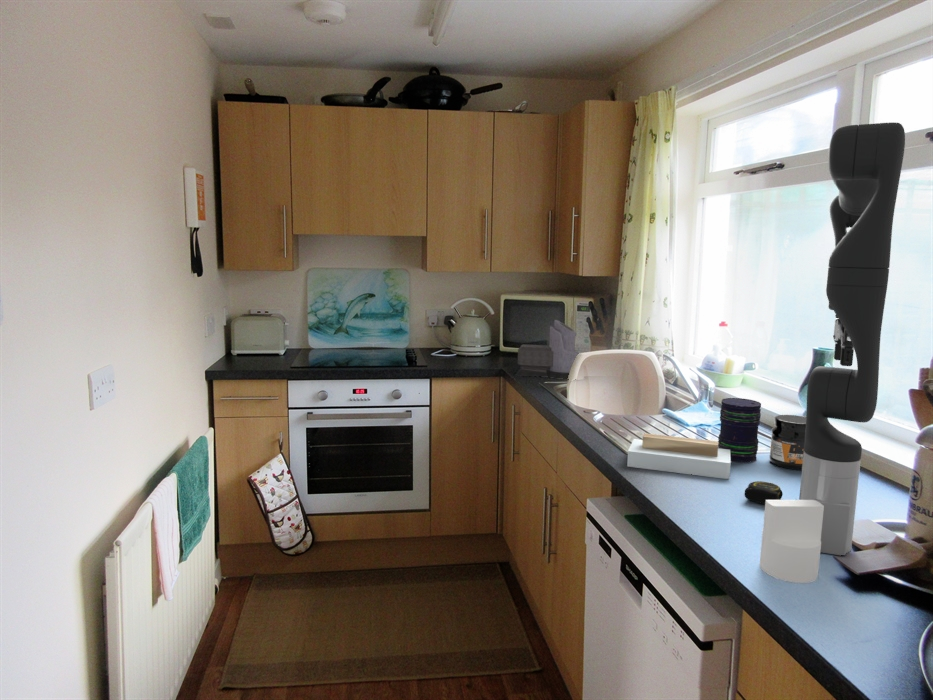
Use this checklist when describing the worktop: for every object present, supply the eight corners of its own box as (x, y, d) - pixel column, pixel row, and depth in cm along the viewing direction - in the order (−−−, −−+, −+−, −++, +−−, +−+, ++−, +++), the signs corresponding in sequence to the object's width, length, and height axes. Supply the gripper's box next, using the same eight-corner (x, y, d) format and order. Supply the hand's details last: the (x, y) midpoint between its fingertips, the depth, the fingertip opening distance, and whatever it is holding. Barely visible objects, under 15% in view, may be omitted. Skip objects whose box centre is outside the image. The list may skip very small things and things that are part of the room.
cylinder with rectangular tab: (800, 558, 119) (806, 493, 117) (829, 583, 110) (836, 513, 109) (750, 558, 119) (755, 493, 117) (775, 583, 110) (781, 513, 108)
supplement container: (768, 466, 170) (772, 421, 168) (769, 455, 180) (773, 412, 178) (814, 473, 166) (819, 426, 164) (813, 461, 175) (817, 417, 173)
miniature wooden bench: (716, 470, 165) (718, 444, 164) (641, 461, 171) (642, 436, 170) (716, 466, 168) (718, 441, 167) (642, 457, 175) (644, 433, 174)
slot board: (729, 479, 160) (730, 463, 160) (627, 466, 169) (628, 451, 168) (729, 464, 171) (730, 449, 171) (633, 453, 180) (633, 438, 179)
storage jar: (714, 458, 176) (718, 403, 174) (719, 449, 185) (723, 396, 183) (755, 465, 172) (760, 408, 169) (758, 455, 180) (763, 400, 178)
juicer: (586, 374, 296) (588, 319, 292) (584, 381, 280) (586, 322, 276) (518, 370, 302) (519, 316, 298) (513, 377, 286) (514, 320, 283)
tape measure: (742, 502, 146) (743, 486, 145) (752, 494, 151) (753, 478, 151) (775, 510, 142) (777, 493, 141) (785, 501, 147) (786, 485, 146)
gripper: (877, 290, 136) (868, 369, 139) (863, 287, 150) (856, 359, 152) (835, 289, 139) (828, 366, 141) (825, 286, 152) (819, 357, 155)
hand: (842, 362), depth 147 cm, fingers open, 8 cm apart
